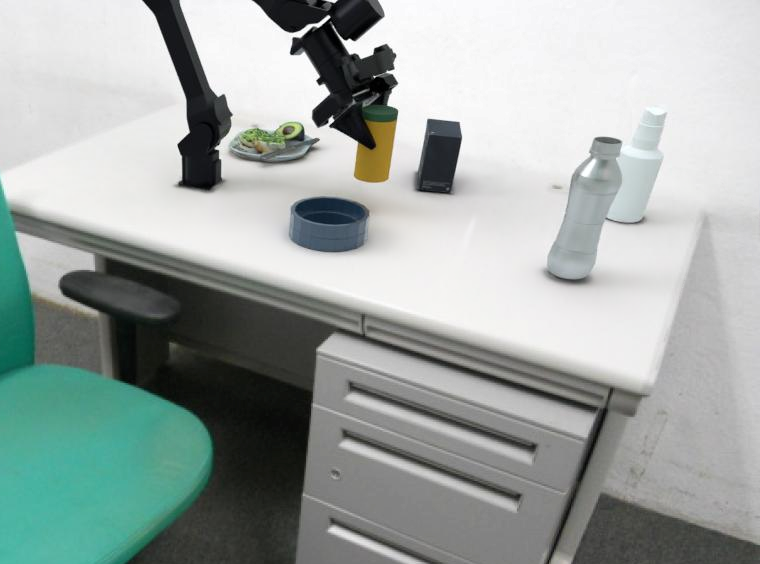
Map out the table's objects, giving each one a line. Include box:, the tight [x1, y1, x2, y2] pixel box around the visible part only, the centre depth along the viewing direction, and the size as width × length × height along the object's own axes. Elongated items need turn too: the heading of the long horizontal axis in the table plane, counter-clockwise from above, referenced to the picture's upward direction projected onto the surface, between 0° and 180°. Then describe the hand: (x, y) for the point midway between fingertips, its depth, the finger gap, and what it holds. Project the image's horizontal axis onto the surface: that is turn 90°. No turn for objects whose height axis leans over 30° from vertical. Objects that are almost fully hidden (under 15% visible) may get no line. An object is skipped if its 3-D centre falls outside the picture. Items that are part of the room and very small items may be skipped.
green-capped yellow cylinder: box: [353, 105, 399, 184], centre depth 127 cm, size 6×6×11 cm
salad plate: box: [227, 121, 321, 163], centre depth 159 cm, size 19×18×5 cm
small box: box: [416, 118, 463, 194], centre depth 144 cm, size 11×6×10 cm, turn 168°
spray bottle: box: [605, 106, 669, 223], centre depth 130 cm, size 7×7×18 cm
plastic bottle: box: [546, 136, 623, 280], centre depth 110 cm, size 6×7×20 cm
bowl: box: [288, 195, 371, 253], centre depth 123 cm, size 12×12×5 cm
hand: (383, 144), depth 126 cm, fingers closed on green-capped yellow cylinder, 6 cm apart
